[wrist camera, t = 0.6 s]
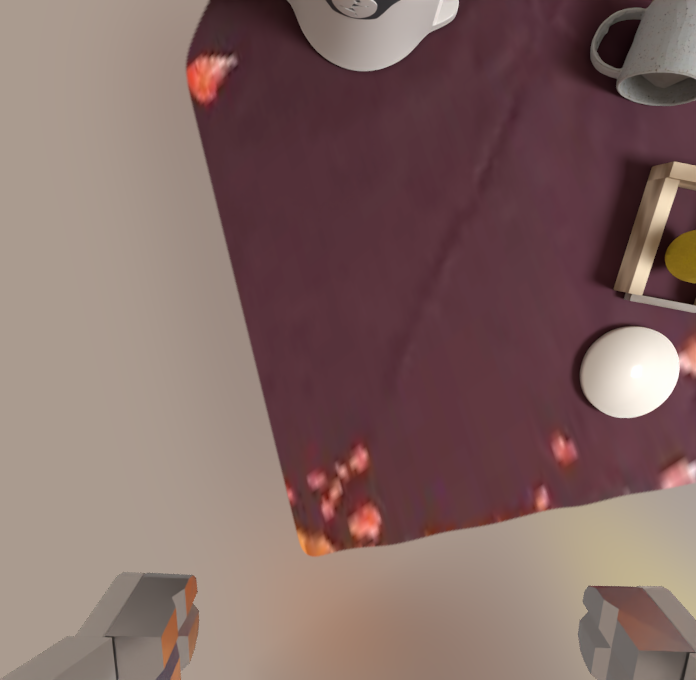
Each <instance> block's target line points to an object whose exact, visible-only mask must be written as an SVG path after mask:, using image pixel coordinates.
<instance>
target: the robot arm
mask: <svg viewBox="0 0 696 680" xmlns="http://www.w3.org/2000/svg"><path fill="white" fill-rule="evenodd" d="M287 1H288V2H289V3H290V5H291V6H292V8H293V10H294V12H295V15H296V17H297V20H298V23H299V25H300V27H301V29H302V31H303V33H304V35H305V37H306V38H307V40H308V41H309V42H310V44H311V45H312V46H313V47H314V49H315V50H316V51H317V52H318V53H319V54H321V55H322V56H323V57H324V58H326V59H327V60H329V61H330V62H332V63H334V64H336V65H338V66H340V67H343V68H346V69H350V70H355V71H373V70H378V69H382V68H385V67H388V66H390V65H393V64H395V63H396V62H398V61H400V60H401V59H403V58H404V57H405V56H407V55H408V54H409V53H410V52H411V51H412V50H413V49H414V48H415V47H416V46H417V45H418V44H419V43H420V41H421V40H422V39H423V38H424V37H425V36H426V35H427V34H429V33H430V32H432V31H434V30H436V29H439V28H441V27H443V26H445V25H446V24H448V23H450V22H451V21H452V20H453V19H454V18H455V16H456V14H457V10H458V5H459V0H287ZM197 592H198V591H197V581H196V577H195V576H194V575H179V574H161V573H132V572H123V573H121V574H119V575H118V576H117V577H116V578H115V580H114V581H113V582H112V584H111V585H110V587H109V588H108V590H107V591H106V592H105V594H104V595H103V597H102V598H101V600H100V601H99V602H98V604H97V605H96V607H95V608H94V610H93V611H92V613H91V614H90V615H89V617H88V618H87V620H86V621H85V623H84V624H83V625H82V627H81V628H80V630H79V631H78V633H77V634H76V635H75V636H67V637H65V638H64V639H62V640H61V641H59V642H58V643H56V644H54V645H53V646H51V647H50V648H48V649H47V650H45V651H43V652H42V653H40V654H39V655H37V656H36V657H34V658H32V659H31V660H30V661H28V662H26V663H25V664H23V665H21V666H20V667H18V668H17V669H15V670H14V671H12V672H10V673H9V674H7V675H6V676H4V677H3V678H1V679H0V680H181V670H183V669H184V668H185V667H186V666H187V665H188V664H189V663H190V661H191V658H192V656H193V653H194V650H195V646H196V641H197V636H198V629H199V610H198V609H197V608H196V607H195V605H194V604H193V601H194V599H195V597H196V594H197ZM583 604H584V605H585V607H586V609H587V610H588V613H587V614H586V615H585V616H584V617H583V618H582V619H581V620H580V622H579V631H578V637H579V645H580V651H581V654H582V656H583V659H584V662H585V664H586V666H587V668H588V670H589V672H590V674H591V675H592V676H594V677H595V678H596V679H597V680H696V620H695V619H694V617H693V616H692V615H691V614H690V613H689V612H688V611H687V610H686V609H685V607H684V606H683V605H682V604H681V603H680V602H679V601H678V600H677V598H676V597H675V596H674V595H673V594H672V593H671V592H670V591H669V590H668V589H666V588H664V587H662V586H637V587H621V586H588V587H587V589H586V590H585V592H584V597H583Z"/></svg>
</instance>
